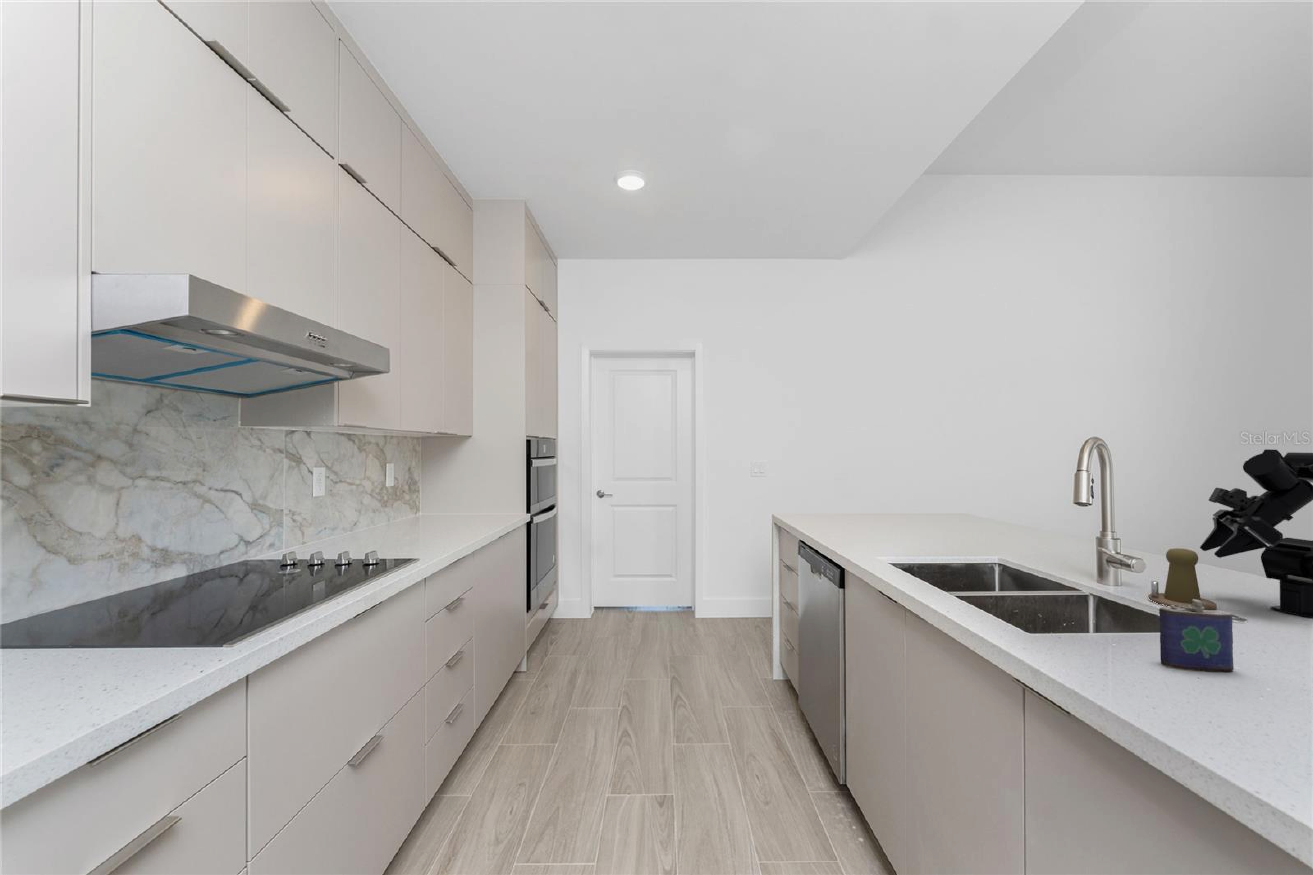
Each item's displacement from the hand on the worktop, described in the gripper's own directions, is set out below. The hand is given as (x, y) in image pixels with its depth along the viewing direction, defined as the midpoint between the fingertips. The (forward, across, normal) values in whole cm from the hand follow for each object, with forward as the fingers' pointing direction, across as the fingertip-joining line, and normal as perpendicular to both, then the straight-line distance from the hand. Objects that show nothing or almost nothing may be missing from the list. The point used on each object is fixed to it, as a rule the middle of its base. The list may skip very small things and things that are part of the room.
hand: (1208, 552), depth 124 cm
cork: (+11, +1, +4) cm, 12 cm away
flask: (+18, +46, -1) cm, 49 cm away
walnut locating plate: (+11, +1, +4) cm, 12 cm away
